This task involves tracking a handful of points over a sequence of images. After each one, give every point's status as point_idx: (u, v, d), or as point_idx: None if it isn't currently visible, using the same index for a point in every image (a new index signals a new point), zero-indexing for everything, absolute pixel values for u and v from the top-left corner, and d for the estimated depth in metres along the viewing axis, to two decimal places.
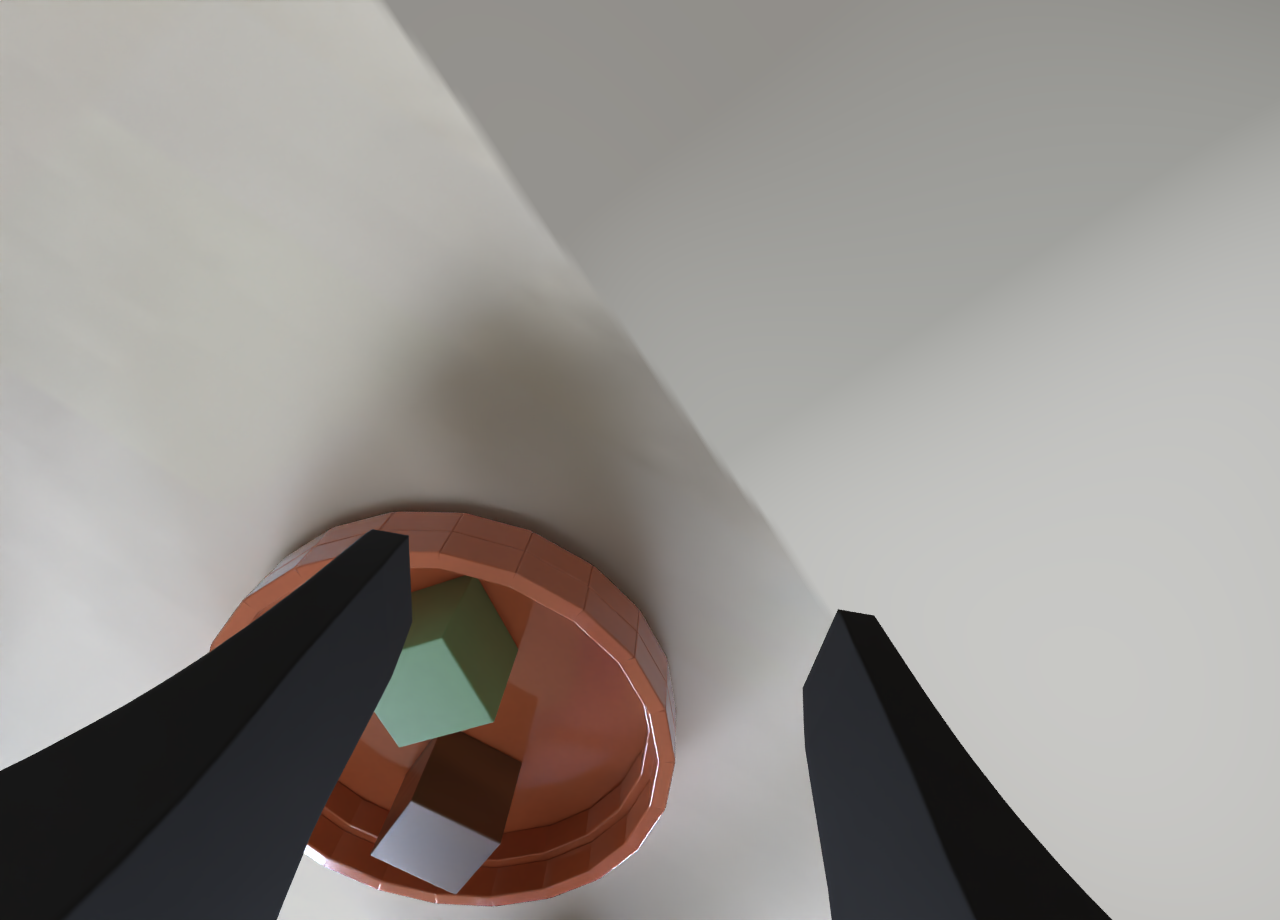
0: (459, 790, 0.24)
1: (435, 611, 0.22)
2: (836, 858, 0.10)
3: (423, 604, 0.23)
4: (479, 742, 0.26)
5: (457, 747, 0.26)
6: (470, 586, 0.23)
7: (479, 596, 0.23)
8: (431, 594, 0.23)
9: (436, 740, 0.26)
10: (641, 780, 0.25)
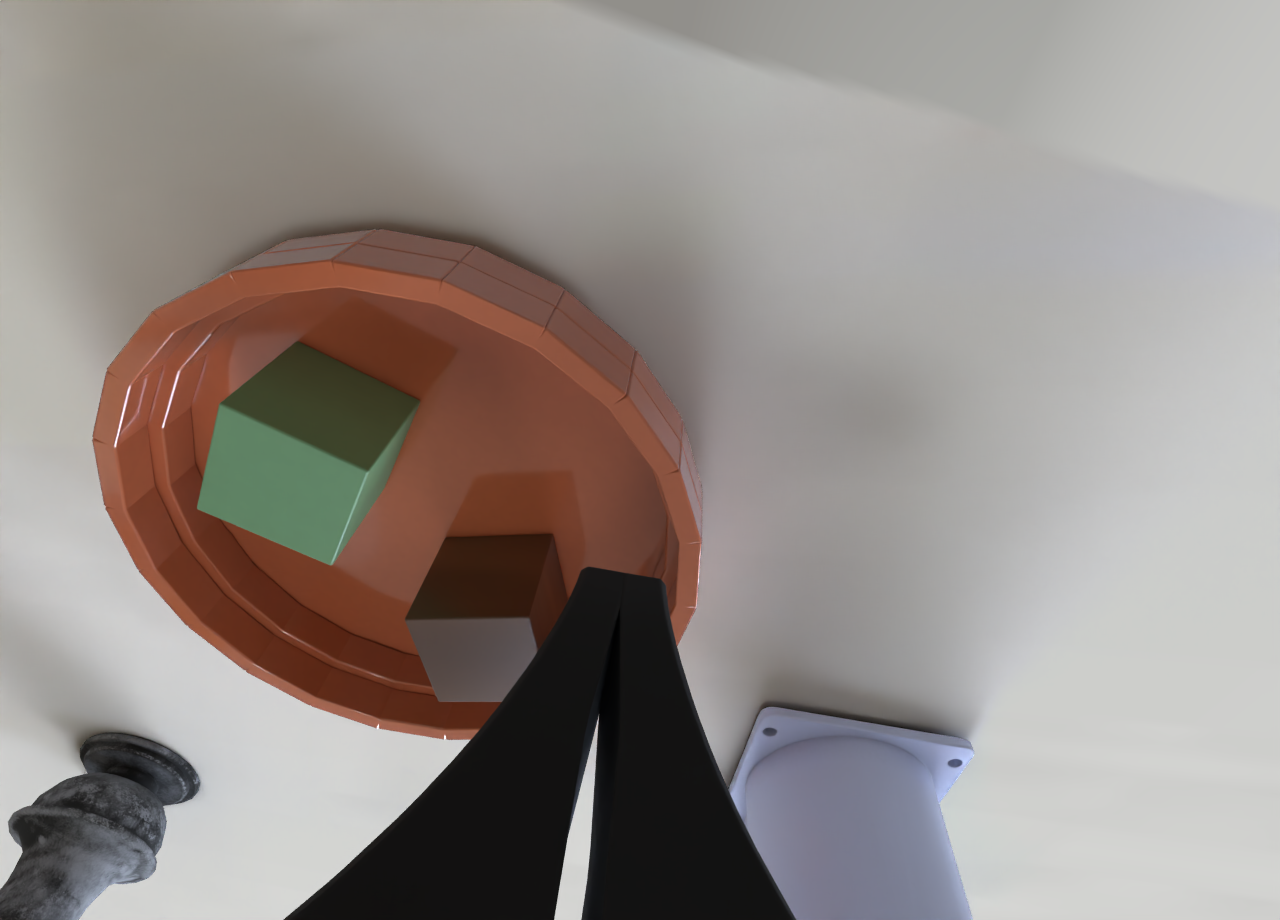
0: (467, 588, 0.19)
1: None
2: (595, 818, 0.10)
3: None
4: (492, 537, 0.21)
5: (462, 552, 0.21)
6: (287, 353, 0.17)
7: (311, 360, 0.18)
8: None
9: (436, 556, 0.21)
10: None
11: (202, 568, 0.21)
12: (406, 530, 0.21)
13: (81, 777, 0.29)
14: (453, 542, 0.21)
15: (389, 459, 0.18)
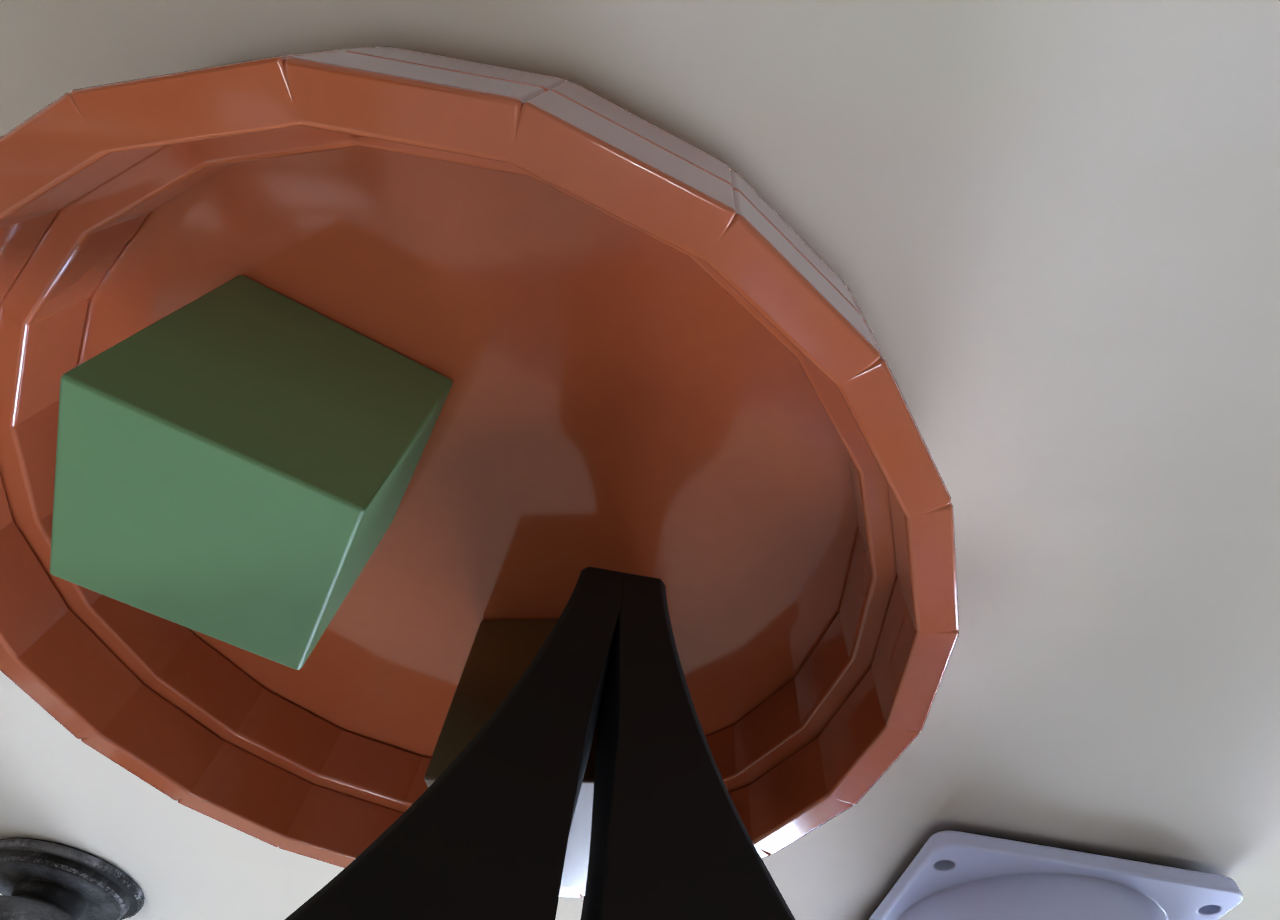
0: None
1: None
2: (594, 818, 0.10)
3: None
4: (555, 621, 0.14)
5: (510, 647, 0.13)
6: (220, 292, 0.10)
7: (264, 307, 0.10)
8: None
9: (470, 653, 0.13)
10: (871, 485, 0.10)
11: (105, 647, 0.14)
12: (425, 586, 0.14)
13: None
14: (494, 629, 0.14)
15: (401, 480, 0.11)
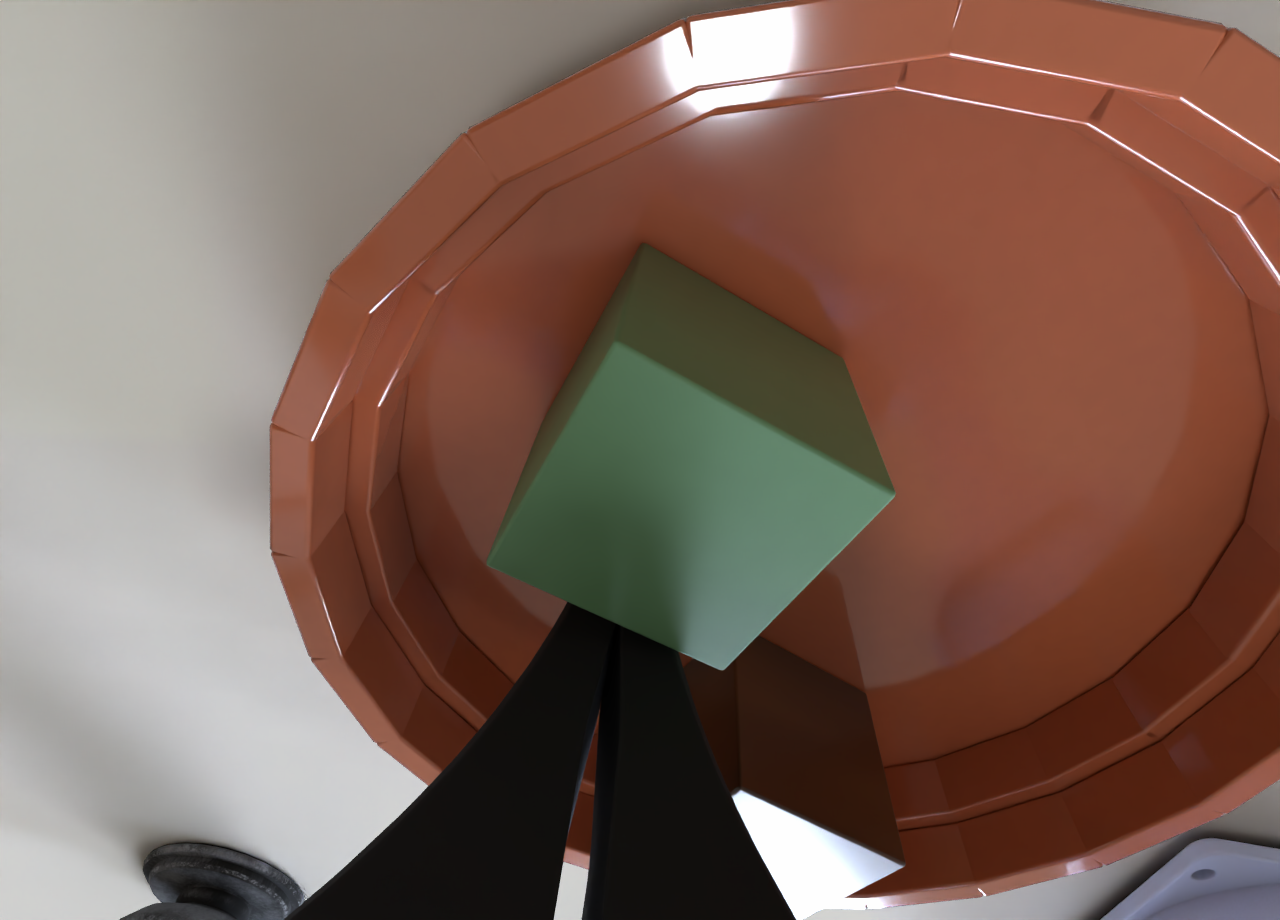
0: None
1: (597, 341, 0.08)
2: (595, 818, 0.10)
3: (581, 362, 0.09)
4: None
5: None
6: (646, 260, 0.09)
7: (682, 276, 0.09)
8: (589, 342, 0.10)
9: None
10: None
11: (398, 645, 0.13)
12: None
13: (152, 913, 0.20)
14: None
15: None
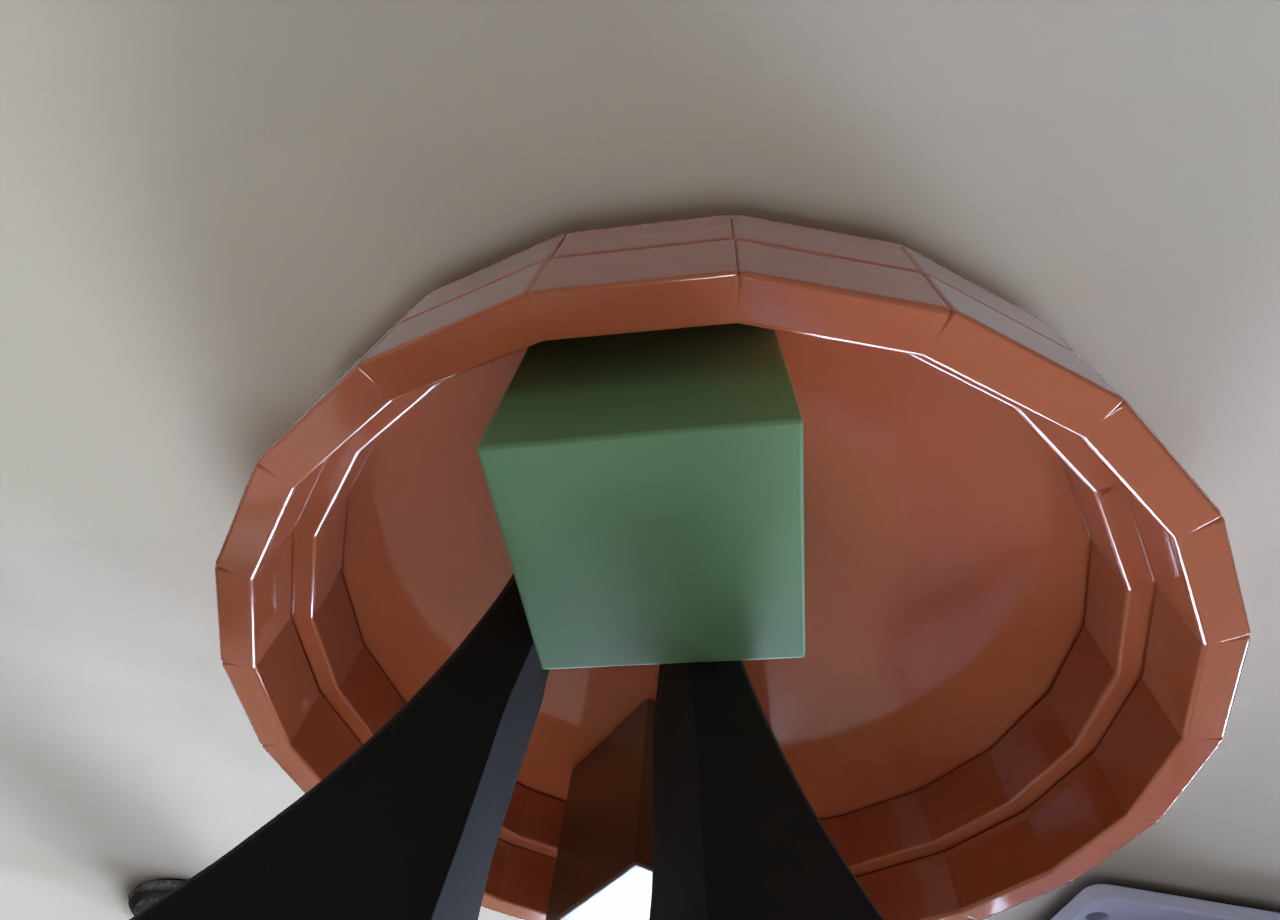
0: (586, 844, 0.14)
1: None
2: (658, 828, 0.10)
3: None
4: (604, 742, 0.16)
5: (582, 784, 0.16)
6: (533, 348, 0.10)
7: (573, 339, 0.10)
8: None
9: None
10: (1136, 600, 0.11)
11: (345, 725, 0.14)
12: (645, 666, 0.14)
13: None
14: (576, 774, 0.16)
15: None
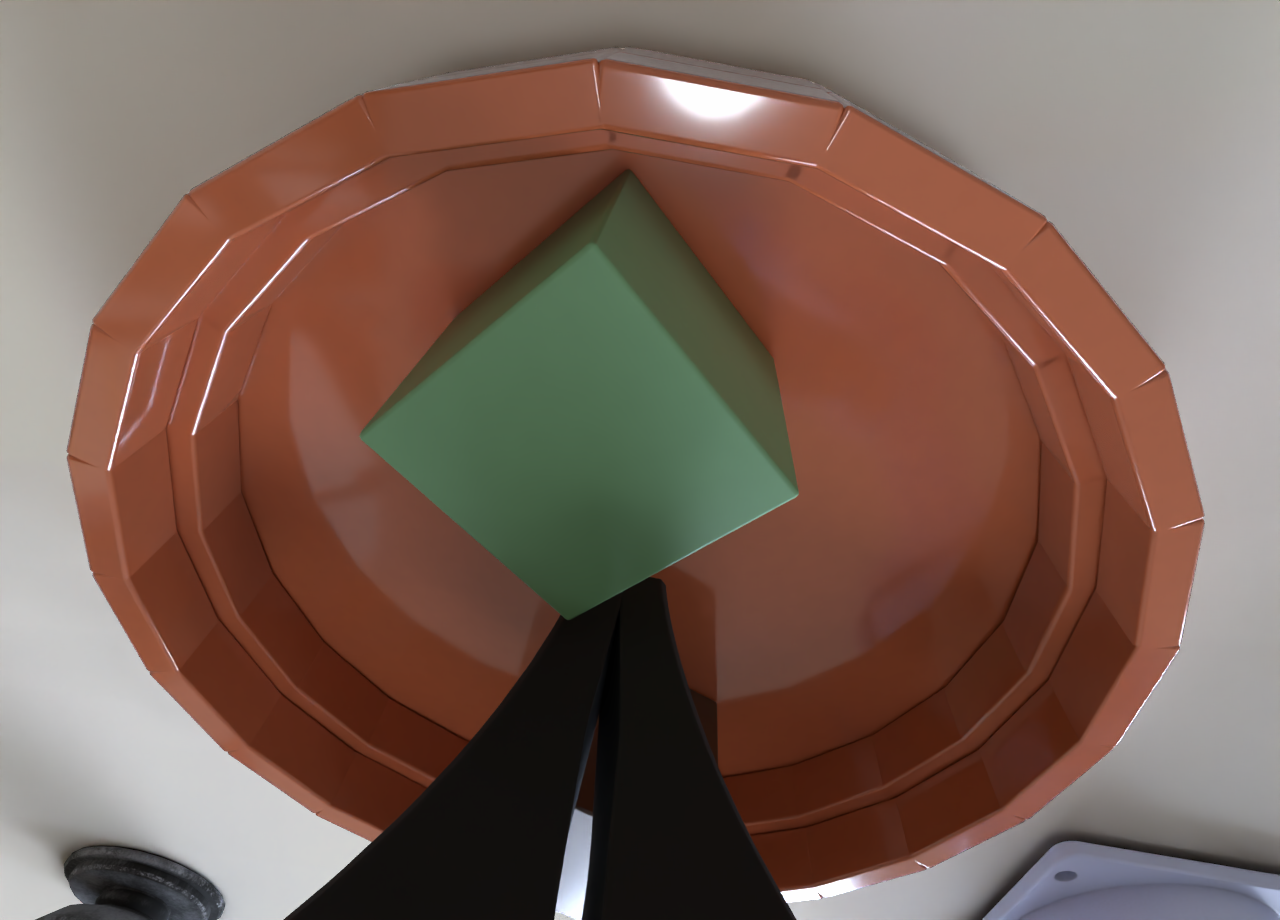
0: None
1: None
2: (595, 818, 0.10)
3: None
4: None
5: None
6: (443, 332, 0.10)
7: (472, 305, 0.10)
8: None
9: None
10: (1086, 497, 0.10)
11: (250, 658, 0.13)
12: None
13: (64, 914, 0.21)
14: None
15: (685, 273, 0.08)
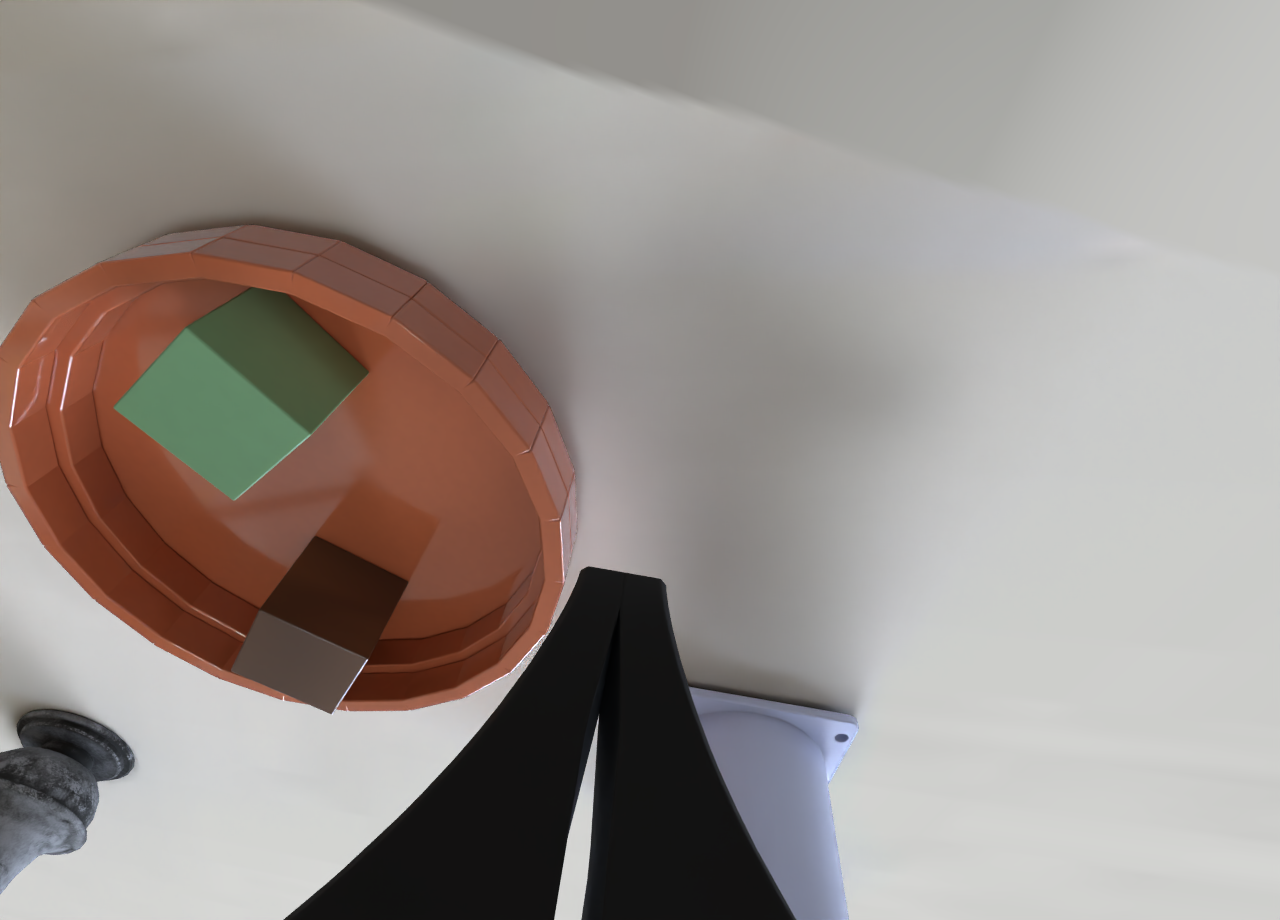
0: None
1: None
2: (595, 818, 0.10)
3: None
4: None
5: None
6: None
7: None
8: None
9: None
10: None
11: (109, 545, 0.22)
12: (304, 510, 0.23)
13: (14, 751, 0.30)
14: None
15: (283, 331, 0.18)
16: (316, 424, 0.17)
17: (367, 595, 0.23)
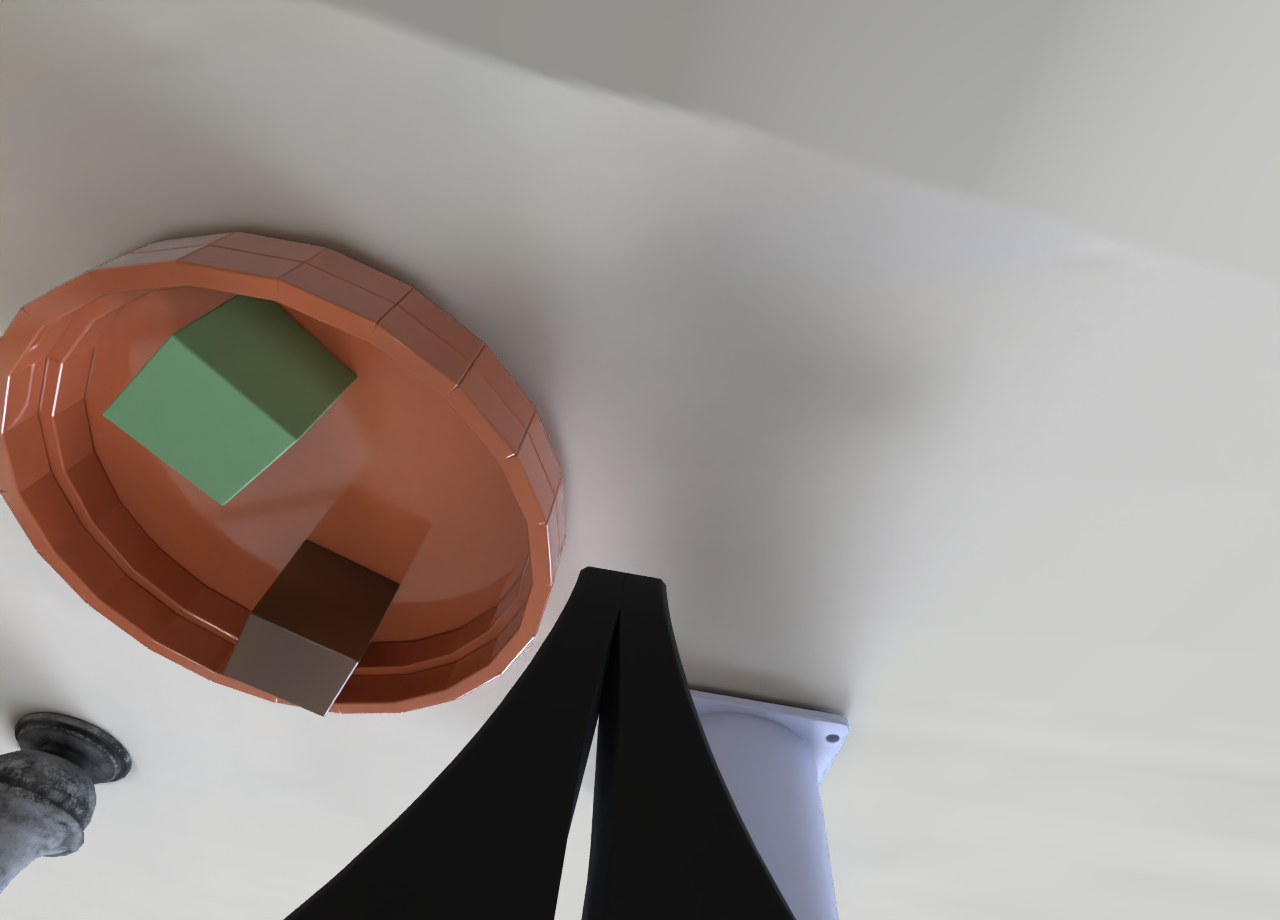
0: None
1: None
2: (595, 818, 0.10)
3: None
4: None
5: None
6: None
7: None
8: None
9: None
10: None
11: (102, 550, 0.23)
12: (295, 514, 0.23)
13: (11, 754, 0.30)
14: None
15: (271, 337, 0.18)
16: (303, 429, 0.17)
17: (358, 598, 0.23)
